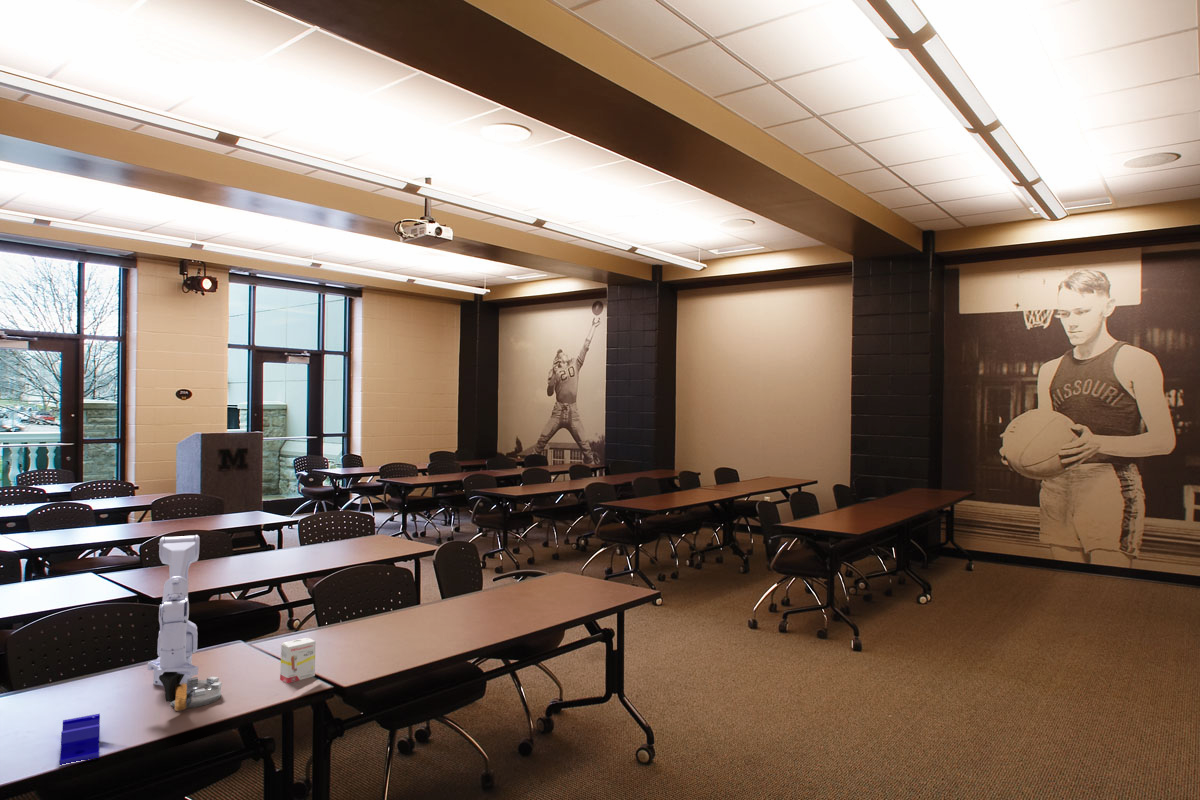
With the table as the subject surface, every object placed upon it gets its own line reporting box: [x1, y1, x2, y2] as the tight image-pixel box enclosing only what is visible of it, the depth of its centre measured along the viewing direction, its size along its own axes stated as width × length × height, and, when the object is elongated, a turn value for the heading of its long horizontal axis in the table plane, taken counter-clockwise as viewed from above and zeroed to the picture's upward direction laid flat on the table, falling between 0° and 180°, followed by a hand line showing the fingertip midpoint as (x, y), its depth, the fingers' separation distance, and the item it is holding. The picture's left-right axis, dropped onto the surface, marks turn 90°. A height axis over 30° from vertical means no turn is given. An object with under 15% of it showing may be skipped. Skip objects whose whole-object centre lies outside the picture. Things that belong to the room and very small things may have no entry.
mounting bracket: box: [59, 713, 101, 765], centre depth 169 cm, size 18×7×6 cm, turn 35°
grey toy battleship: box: [169, 675, 223, 712], centre depth 192 cm, size 17×12×8 cm
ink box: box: [279, 637, 316, 684], centre depth 211 cm, size 9×5×12 cm, turn 137°
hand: (171, 700), depth 185 cm, fingers closed
